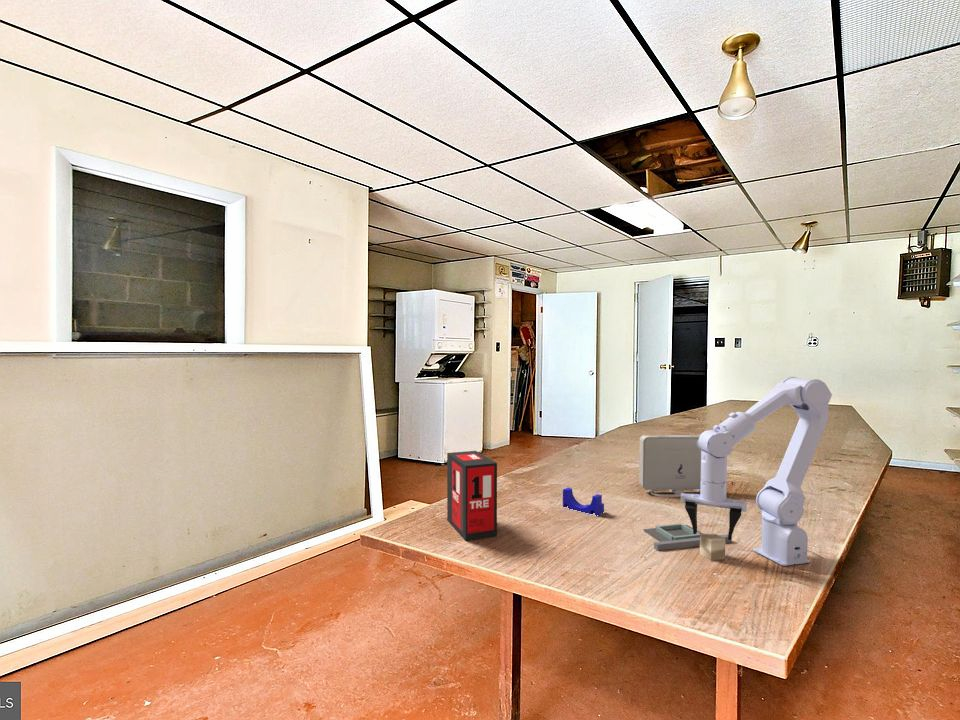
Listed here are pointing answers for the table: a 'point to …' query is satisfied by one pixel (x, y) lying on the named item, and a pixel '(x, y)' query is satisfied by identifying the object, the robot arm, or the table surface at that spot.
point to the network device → (669, 464)
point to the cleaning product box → (472, 495)
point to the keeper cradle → (672, 532)
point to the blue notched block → (572, 503)
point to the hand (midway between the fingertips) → (712, 535)
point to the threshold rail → (682, 543)
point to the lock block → (712, 546)
